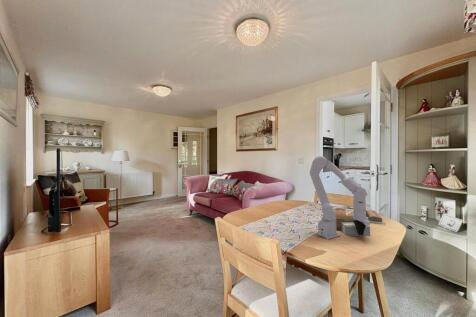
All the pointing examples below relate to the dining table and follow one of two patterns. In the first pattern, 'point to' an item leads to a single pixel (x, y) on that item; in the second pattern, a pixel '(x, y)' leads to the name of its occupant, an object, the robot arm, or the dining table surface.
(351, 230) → the carton
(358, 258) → the dining table surface
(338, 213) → the plant pot
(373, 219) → the packaged product
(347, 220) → the display podium
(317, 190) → the robot arm
